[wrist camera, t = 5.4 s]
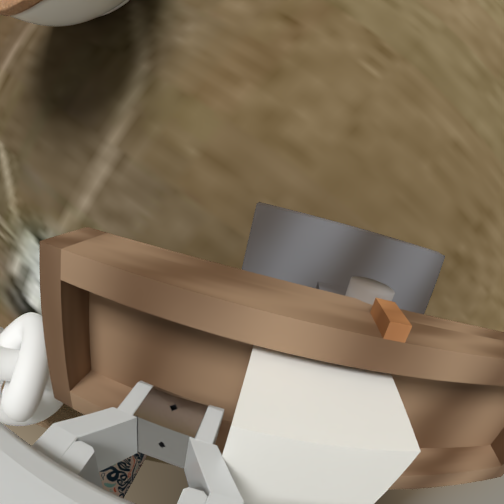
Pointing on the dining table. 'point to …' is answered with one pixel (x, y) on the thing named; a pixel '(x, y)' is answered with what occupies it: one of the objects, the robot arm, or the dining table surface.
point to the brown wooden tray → (275, 329)
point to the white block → (316, 432)
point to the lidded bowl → (58, 10)
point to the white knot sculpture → (25, 373)
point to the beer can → (121, 474)
